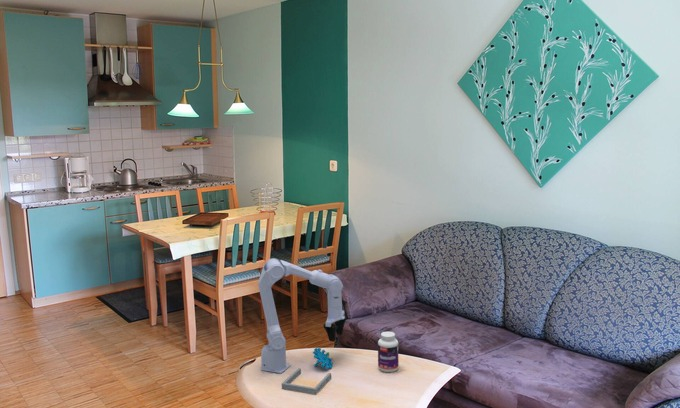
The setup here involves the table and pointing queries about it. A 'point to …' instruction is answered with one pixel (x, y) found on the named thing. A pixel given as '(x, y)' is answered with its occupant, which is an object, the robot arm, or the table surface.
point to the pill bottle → (388, 352)
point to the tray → (304, 389)
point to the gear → (322, 358)
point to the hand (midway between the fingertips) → (335, 337)
